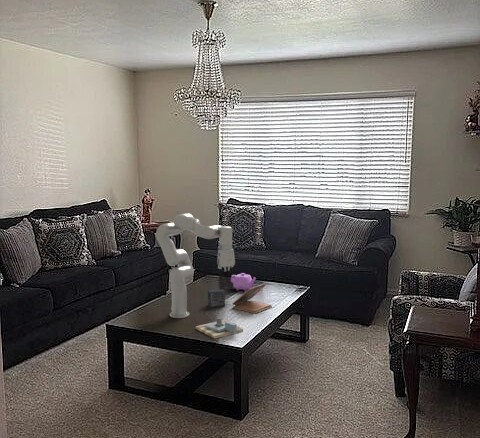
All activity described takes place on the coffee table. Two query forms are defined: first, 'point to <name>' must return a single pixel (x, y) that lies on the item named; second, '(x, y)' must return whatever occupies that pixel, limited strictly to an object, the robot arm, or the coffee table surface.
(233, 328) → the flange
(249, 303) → the case
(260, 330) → the coffee table surface
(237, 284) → the teapot
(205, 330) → the post fixture
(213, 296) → the small box
